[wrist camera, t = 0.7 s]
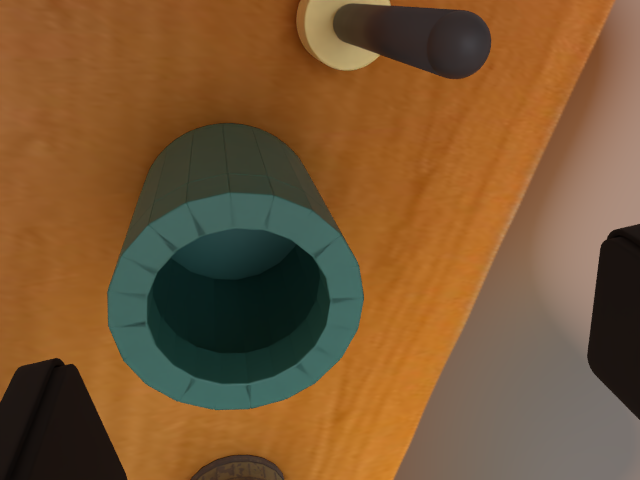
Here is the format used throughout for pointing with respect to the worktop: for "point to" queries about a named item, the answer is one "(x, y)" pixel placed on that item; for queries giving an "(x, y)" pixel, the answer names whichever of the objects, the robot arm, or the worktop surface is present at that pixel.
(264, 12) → the worktop surface
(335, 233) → the teal hollow cylinder
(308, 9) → the joystick
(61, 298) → the worktop surface
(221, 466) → the thermos
